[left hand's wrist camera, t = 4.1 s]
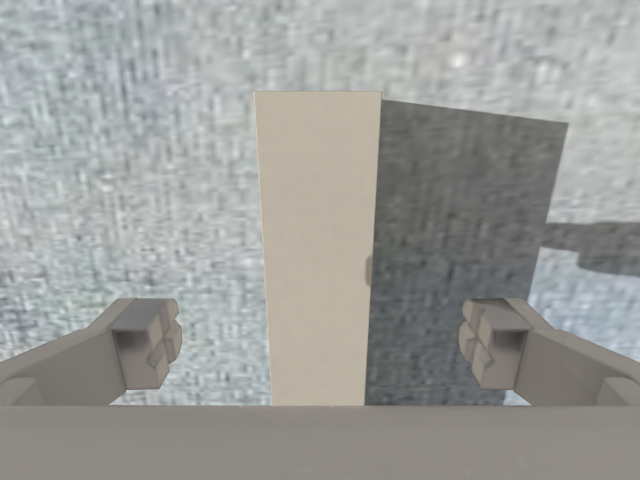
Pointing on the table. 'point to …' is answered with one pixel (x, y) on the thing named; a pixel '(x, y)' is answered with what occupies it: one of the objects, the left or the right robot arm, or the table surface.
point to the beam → (318, 239)
